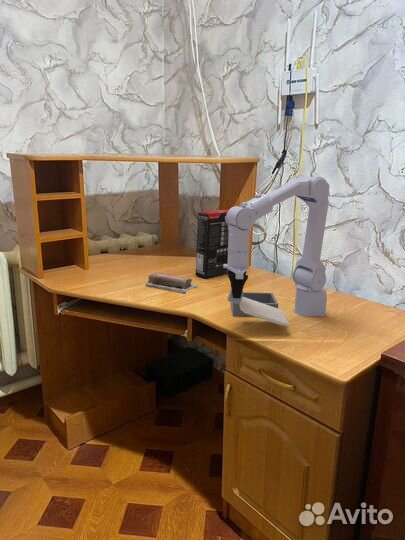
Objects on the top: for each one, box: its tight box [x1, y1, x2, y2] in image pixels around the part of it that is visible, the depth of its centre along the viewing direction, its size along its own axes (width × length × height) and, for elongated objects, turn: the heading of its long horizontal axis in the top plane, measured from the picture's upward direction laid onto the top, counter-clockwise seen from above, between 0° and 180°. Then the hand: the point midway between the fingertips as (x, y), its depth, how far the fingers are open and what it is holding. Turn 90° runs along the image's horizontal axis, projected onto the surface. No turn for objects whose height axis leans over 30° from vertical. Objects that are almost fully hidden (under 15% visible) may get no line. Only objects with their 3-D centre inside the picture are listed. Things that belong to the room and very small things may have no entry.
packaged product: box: [145, 271, 199, 295], centre depth 161 cm, size 18×5×10 cm
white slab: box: [227, 287, 290, 327], centre depth 122 cm, size 18×11×4 cm, turn 90°
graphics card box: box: [195, 208, 230, 279], centre depth 176 cm, size 17×7×27 cm, turn 135°
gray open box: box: [229, 291, 279, 317], centre depth 136 cm, size 14×11×5 cm
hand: (236, 296), depth 121 cm, fingers closed on white slab, 2 cm apart
